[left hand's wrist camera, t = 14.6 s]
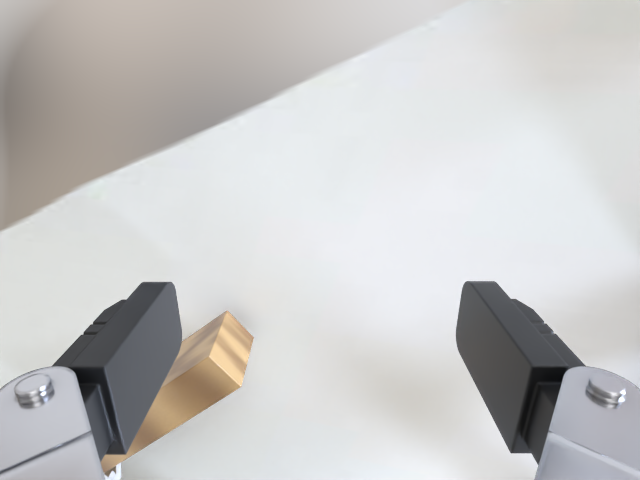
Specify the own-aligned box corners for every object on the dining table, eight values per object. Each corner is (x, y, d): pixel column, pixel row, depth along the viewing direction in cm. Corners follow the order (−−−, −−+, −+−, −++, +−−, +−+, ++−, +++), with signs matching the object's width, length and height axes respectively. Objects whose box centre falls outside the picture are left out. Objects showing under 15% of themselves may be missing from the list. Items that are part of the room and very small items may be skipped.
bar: (227, 310, 44) (209, 356, 37) (254, 337, 45) (241, 387, 38) (78, 413, 50) (37, 470, 42) (106, 434, 51) (71, 493, 44)
